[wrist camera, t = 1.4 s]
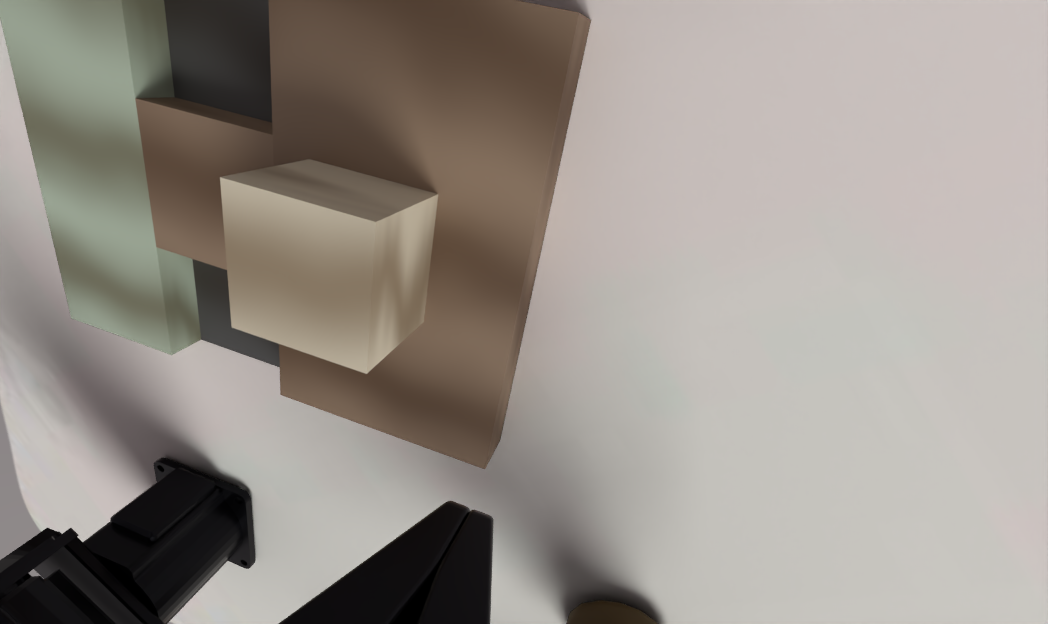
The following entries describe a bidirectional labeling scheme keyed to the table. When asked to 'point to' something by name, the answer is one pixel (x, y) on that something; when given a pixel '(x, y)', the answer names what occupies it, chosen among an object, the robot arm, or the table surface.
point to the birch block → (327, 259)
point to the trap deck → (295, 135)
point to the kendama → (607, 614)
